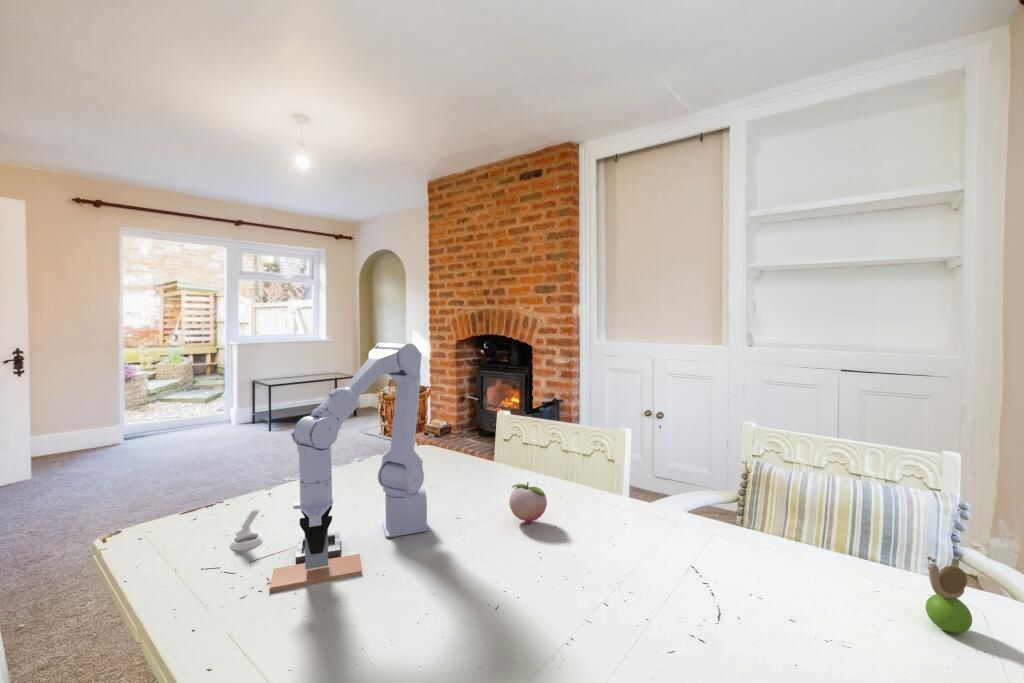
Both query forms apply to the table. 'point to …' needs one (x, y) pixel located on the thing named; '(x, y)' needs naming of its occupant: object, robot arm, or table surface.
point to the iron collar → (331, 552)
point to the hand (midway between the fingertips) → (317, 547)
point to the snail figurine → (948, 599)
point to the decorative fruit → (527, 502)
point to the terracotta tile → (315, 573)
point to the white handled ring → (246, 534)
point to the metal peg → (316, 556)
